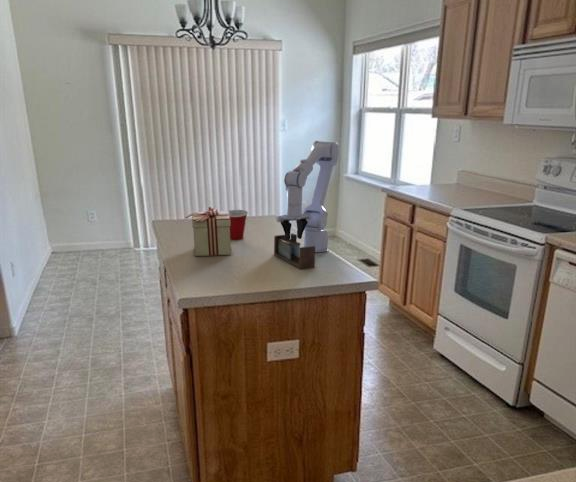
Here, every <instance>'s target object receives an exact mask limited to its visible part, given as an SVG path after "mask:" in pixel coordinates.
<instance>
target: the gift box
mask: <svg viewBox="0 0 576 482" xmlns="http://www.w3.org/2000/svg"><path fill="white" fill-rule="evenodd" d="M228 211H229V210H222V211H221V210H220V211H218V209H216V208H213V207H211V206H208V210H206V211H193V212H192V213H189V214H188V215H186V216H185V217H184V219H188V218H190V217H191V216H192V217H191V225H192V229H193V244H194V257H207V256H208V257H209V256H210V257H211V256H231V255H232V245H231V239H230V215H229V212H228Z"/></svg>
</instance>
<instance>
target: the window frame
mask: <svg viewBox="0 0 576 482" xmlns="http://www.w3.org/2000/svg"><path fill="white" fill-rule="evenodd" d="M273 238H274V239H273V241H274V242H273V256H275V257H277V258H279V259H281V260H282V261H284V262H286V263H288V264H290V265H292V266H294V267H296V268H297V269H299V270H306V269H313V268H315V265H316V252H315V246H309V247H304V246H302V247H301V246H300V256H299V257H300V258H299V259H297V258H295V257H293V256H291V243H289V242H288V240H287V239H286V237H285V234H277V235H274V236H273Z"/></svg>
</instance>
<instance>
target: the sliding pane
mask: <svg viewBox="0 0 576 482" xmlns="http://www.w3.org/2000/svg"><path fill="white" fill-rule="evenodd" d="M297 239H298V238H297V233H296V234H295V233H290V240H288V242H289V243H291V256H293V257H295V258H297V259H299V258H300V248H301V243H300V242H298V241H297Z"/></svg>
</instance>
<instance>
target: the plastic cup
mask: <svg viewBox="0 0 576 482" xmlns="http://www.w3.org/2000/svg"><path fill="white" fill-rule="evenodd" d="M227 211H228V212H229V215H230V240H233V241H240V240H243V239H244V235H245V230H246V229H245V228H246V223H247V222H246V221H247V217H248V214H249V211H247V210H244V209H230V210H227Z"/></svg>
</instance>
